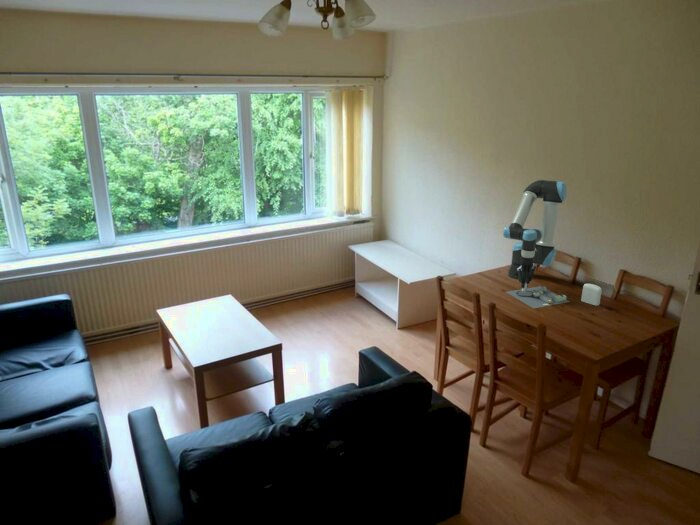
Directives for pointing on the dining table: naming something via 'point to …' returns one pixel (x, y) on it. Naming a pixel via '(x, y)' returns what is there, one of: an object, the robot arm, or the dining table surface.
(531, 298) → the level board
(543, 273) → the dining table surface
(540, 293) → the grey metal branched piece
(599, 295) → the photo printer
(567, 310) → the dining table surface
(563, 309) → the dining table surface
